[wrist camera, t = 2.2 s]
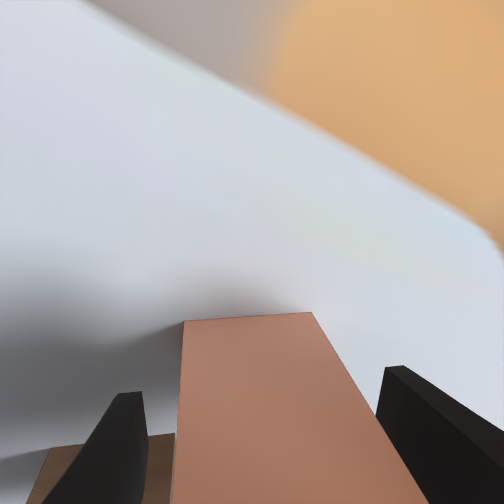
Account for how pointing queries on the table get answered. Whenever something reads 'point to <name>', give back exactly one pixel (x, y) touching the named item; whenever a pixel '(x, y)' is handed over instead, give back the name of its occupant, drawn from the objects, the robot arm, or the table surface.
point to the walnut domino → (157, 473)
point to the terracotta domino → (278, 420)
